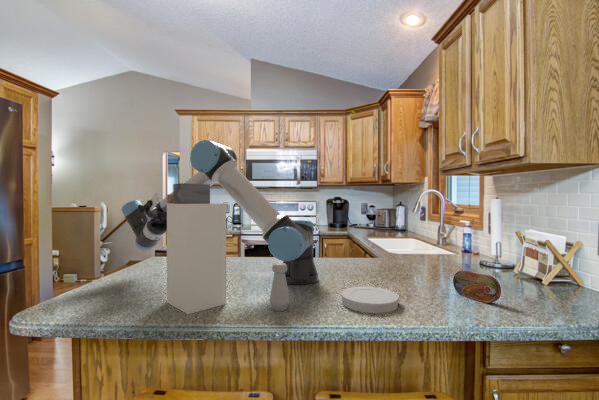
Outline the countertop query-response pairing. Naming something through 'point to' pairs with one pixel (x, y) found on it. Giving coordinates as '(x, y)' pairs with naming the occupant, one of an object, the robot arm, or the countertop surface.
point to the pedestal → (196, 256)
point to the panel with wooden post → (189, 194)
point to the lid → (370, 299)
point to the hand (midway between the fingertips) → (178, 196)
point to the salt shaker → (279, 288)
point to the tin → (477, 286)
